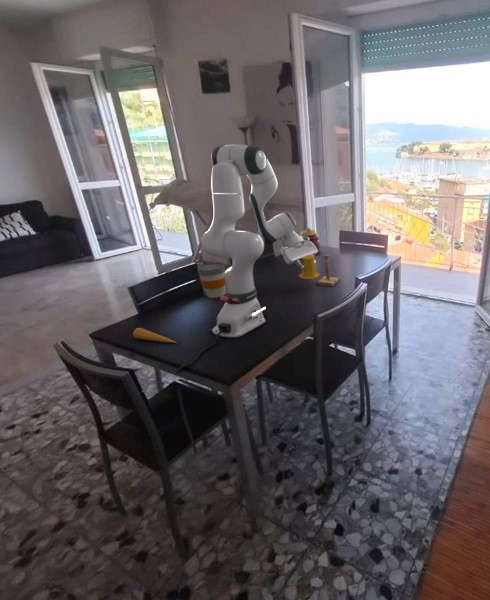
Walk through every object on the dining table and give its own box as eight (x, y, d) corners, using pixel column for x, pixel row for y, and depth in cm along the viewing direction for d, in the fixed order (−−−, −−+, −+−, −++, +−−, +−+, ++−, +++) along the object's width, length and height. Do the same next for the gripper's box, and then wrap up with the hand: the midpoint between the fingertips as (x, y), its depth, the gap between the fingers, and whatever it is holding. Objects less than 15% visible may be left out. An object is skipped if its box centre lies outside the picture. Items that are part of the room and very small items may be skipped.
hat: (313, 280, 175) (312, 260, 171) (295, 278, 178) (293, 258, 174) (322, 273, 184) (321, 254, 180) (305, 271, 187) (303, 253, 183)
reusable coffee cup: (220, 287, 188) (214, 260, 182) (234, 292, 181) (229, 264, 175) (198, 295, 179) (191, 267, 172) (212, 301, 172) (206, 272, 166)
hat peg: (332, 286, 187) (330, 258, 180) (317, 284, 190) (314, 256, 183) (339, 280, 195) (337, 253, 188) (324, 278, 197) (322, 251, 191)
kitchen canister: (298, 256, 236) (295, 229, 229) (304, 250, 248) (302, 225, 240) (317, 256, 234) (315, 230, 227) (322, 251, 246) (320, 225, 238)
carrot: (134, 340, 141) (128, 333, 138) (142, 331, 144) (136, 324, 140) (177, 351, 137) (172, 344, 133) (184, 342, 140) (179, 335, 136)
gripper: (280, 245, 170) (297, 268, 169) (310, 236, 185) (325, 257, 184) (275, 252, 174) (291, 275, 173) (304, 243, 189) (319, 263, 188)
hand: (309, 265), depth 178 cm, fingers closed on hat, 6 cm apart
